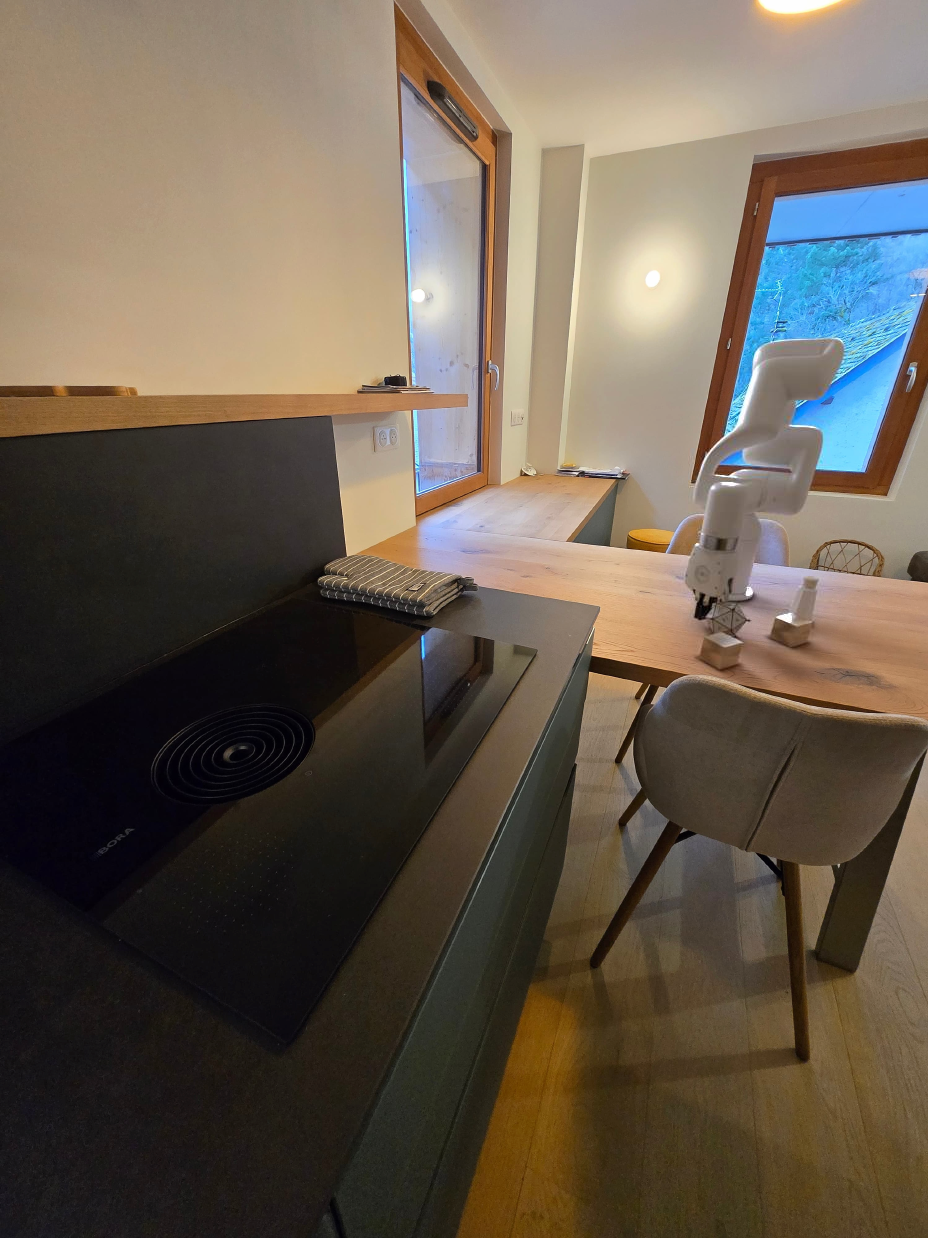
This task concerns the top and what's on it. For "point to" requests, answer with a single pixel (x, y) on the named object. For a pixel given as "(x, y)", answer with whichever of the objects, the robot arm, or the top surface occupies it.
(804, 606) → the salt shaker
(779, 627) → the maple block
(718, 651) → the maple block
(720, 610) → the clear faceted polyhedron
